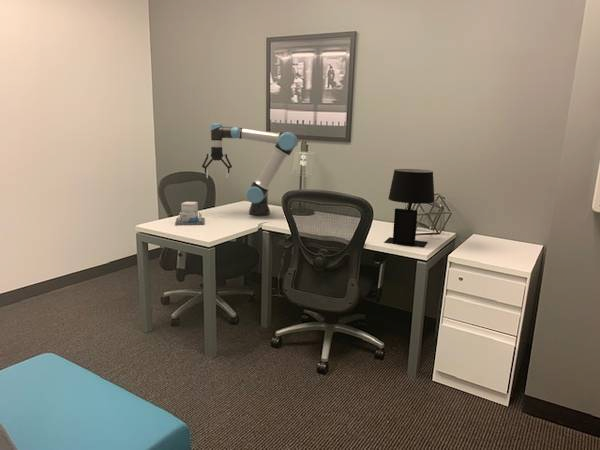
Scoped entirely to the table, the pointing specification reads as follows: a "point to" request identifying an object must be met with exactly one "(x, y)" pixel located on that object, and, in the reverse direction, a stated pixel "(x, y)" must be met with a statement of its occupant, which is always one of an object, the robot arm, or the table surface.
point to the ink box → (189, 211)
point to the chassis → (198, 222)
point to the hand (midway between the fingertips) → (217, 177)
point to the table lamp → (410, 190)
